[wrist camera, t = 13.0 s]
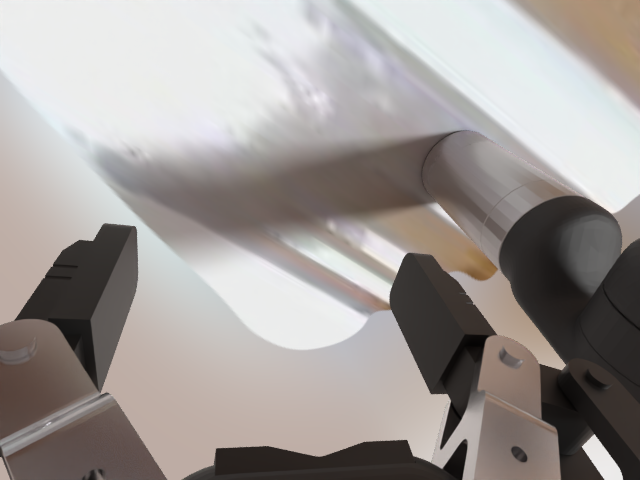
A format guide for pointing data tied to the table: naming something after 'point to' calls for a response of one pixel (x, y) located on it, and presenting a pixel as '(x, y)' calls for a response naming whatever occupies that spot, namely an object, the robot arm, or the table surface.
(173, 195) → the table surface
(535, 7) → the table surface
